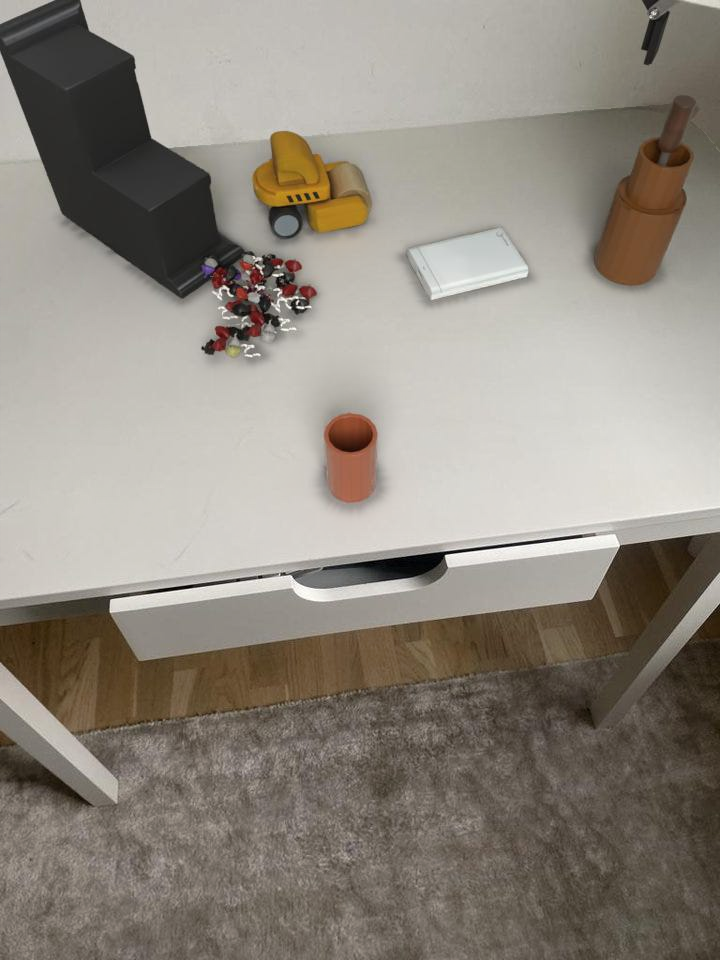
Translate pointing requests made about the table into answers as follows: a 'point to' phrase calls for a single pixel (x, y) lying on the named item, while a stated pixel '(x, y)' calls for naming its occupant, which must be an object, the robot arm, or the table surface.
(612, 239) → the flask
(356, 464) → the holder
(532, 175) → the table surface
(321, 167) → the toy roller
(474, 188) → the table surface
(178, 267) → the black stepped block
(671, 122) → the brush
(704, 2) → the robot arm
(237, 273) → the toy collection
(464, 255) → the hard drive
